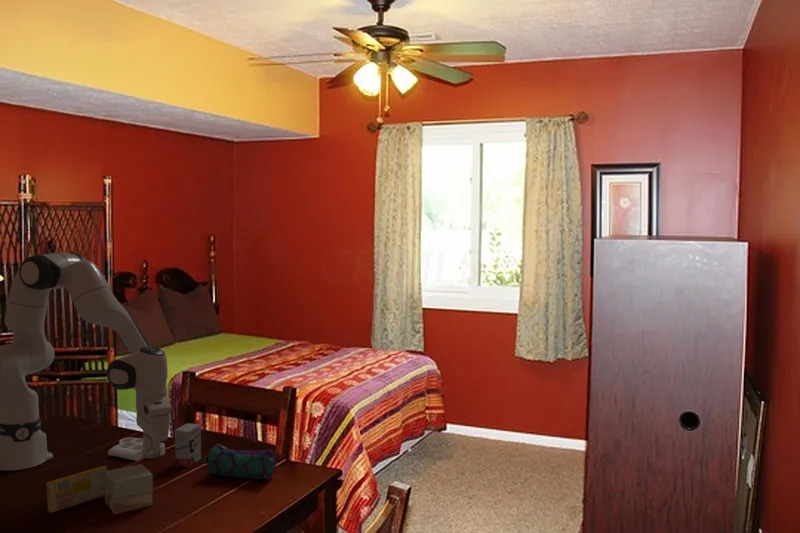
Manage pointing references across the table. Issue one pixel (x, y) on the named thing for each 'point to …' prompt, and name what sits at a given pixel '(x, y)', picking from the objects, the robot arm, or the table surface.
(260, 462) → the pencil case
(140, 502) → the birch block
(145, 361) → the robot arm
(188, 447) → the ink box
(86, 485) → the candy box
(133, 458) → the knuckle duster
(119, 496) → the sage block
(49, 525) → the table surface
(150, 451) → the metal cylinder
